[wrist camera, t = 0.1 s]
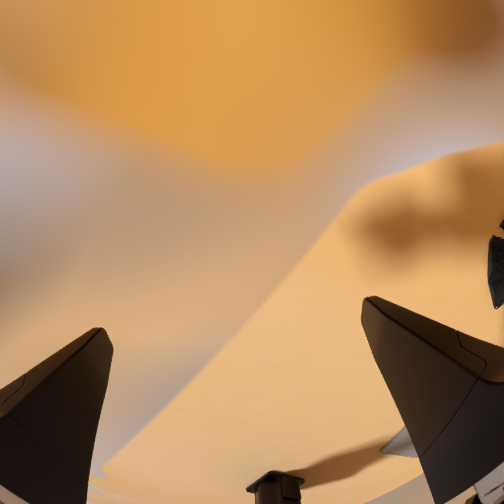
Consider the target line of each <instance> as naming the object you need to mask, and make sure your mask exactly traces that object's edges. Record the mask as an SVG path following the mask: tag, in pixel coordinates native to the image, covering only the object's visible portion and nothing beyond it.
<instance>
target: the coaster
mask: <svg viewBox="0 0 504 504" xmlns="http://www.w3.org/2000/svg"><path fill="white" fill-rule="evenodd" d="M380 452H381V453H386V454H392V455H399V456H406V457H415V458H417V457H418V455H417V453H416V450H415V448H414V445H413V443H412V440H411V438H410V436H409V433H408V431H407V428H406V426H405V427H404V428H403V429H402V430H401V431H400V432H399V433H398V434H397V435H396V436H395V437H394V438H393V439H392V440H391V441H390V442H389V443H388V444H387V445H386V446H384V447H383V448H382V449H381V450H380Z"/></svg>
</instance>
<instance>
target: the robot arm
mask: <svg viewBox="0 0 504 504" xmlns="http://www.w3.org/2000/svg"><path fill="white" fill-rule="evenodd" d="M361 323H362V326H363V329H364V332H365V334H366V337H367V340H368V343H369V345H370V348H371V351H372V354H373V356H374V359H375V361H376V363H377V365H378V368H379V370H380V372H381V374H382V376H383V378H384V380H385V382H386V384H387V386H388V388H389V390H390V393H391V395H392V397H393V399H394V401H395V404H396V406H397V408H398V410H399V412H400V415H401V417H402V419H403V422H404V424H405V426H406V428H407V431H408V433H409V436H410V438H411V440H412V443H413V445H414V448H415V450H416V453H417V455H418V458H420V459H419V461H420V463H421V466H422V469H423V471H424V474H425V477H426V479H427V482H428V485H429V487H430V491H431V493H432V496H433V499H434V502H435V504H444V503H446V502H448V501H450V500H451V499H453V498H455V497H456V496H458V495H459V494H461V493H462V492H464V491H465V490H467V489H468V488H470V487H471V486H474V488H475V490H476V492H477V493H476V494H474V495H473V496H472V497H470V498H469V499H467V500H466V502H465V504H504V348H503V347H500V346H497V345H494V344H491V343H488V342H485V341H482V340H480V339H477V338H474V337H472V336H469V335H467V334H465V333H462V332H460V331H458V330H457V331H456V330H455V329H453V328H451V327H448V326H446V325H444V324H441V323H439V322H437V321H434V320H432V319H429V318H427V317H425V316H422V315H420V314H418V313H415V312H413V311H411V310H408V309H406V308H403V307H401V306H399V305H396V304H394V303H392V302H389V301H387V300H385V299H382V298H380V297H377V296H370V297H366V298H364V300H363V305H362V313H361ZM112 356H113V345H112V343H111V341H110V339H109V337H108V335H107V332H106V331H105V329H104V328H92V329H91V330H89V331H88V332H86V333H85V334H83V335H82V336H80V337H79V338H77V339H75V340H74V341H72V342H71V343H69V344H68V345H66V346H65V347H63V348H62V349H60V350H59V351H57V352H56V353H55V354H53V355H52V356H50V357H49V358H47V359H46V360H44V361H42V362H41V363H40V364H38V365H37V366H35V367H34V368H32V369H31V370H29V371H28V372H27V373H25V374H23V375H22V376H20V377H19V378H18V379H16V380H14V381H13V382H11V383H10V384H8V385H7V386H5V387H4V388H2V389H0V504H86V501H87V491H88V481H89V474H90V467H91V459H92V454H93V449H94V443H95V438H96V433H97V428H98V423H99V419H100V414H101V410H102V405H103V402H104V398H105V394H106V389H107V385H108V379H109V373H110V367H111V362H112ZM304 482H305V480H304V479H301V478H296V477H291V476H287V475H282V474H278V473H274V472H268V473H267V474H265V475H264V476H263V477H261V478H260V479H259V480H257V481H256V482H254V483H253V484H252V485H250V486H249V487H247V488H246V491H247V492H250V493H255V504H301V501H300V499H301V493H300V488H299V486H300V485H302V484H303V483H304Z"/></svg>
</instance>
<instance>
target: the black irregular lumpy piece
mask: <svg viewBox="0 0 504 504" xmlns="http://www.w3.org/2000/svg"><path fill="white" fill-rule="evenodd" d="M500 227H501V228H502V229H503V230H504V220H503V221H502V223H501V225H500V226H499V228H500ZM488 284H489V288H490V292H491V297H492V301H493V305H494V308H495V307H496V306H497V307H498V308H499V307H500V306H502V305H503V304H504V239H501V237H496V236H494V235H493V236H492V238H491V239H490V241H489V252H488ZM498 308H495V309H498Z"/></svg>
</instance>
